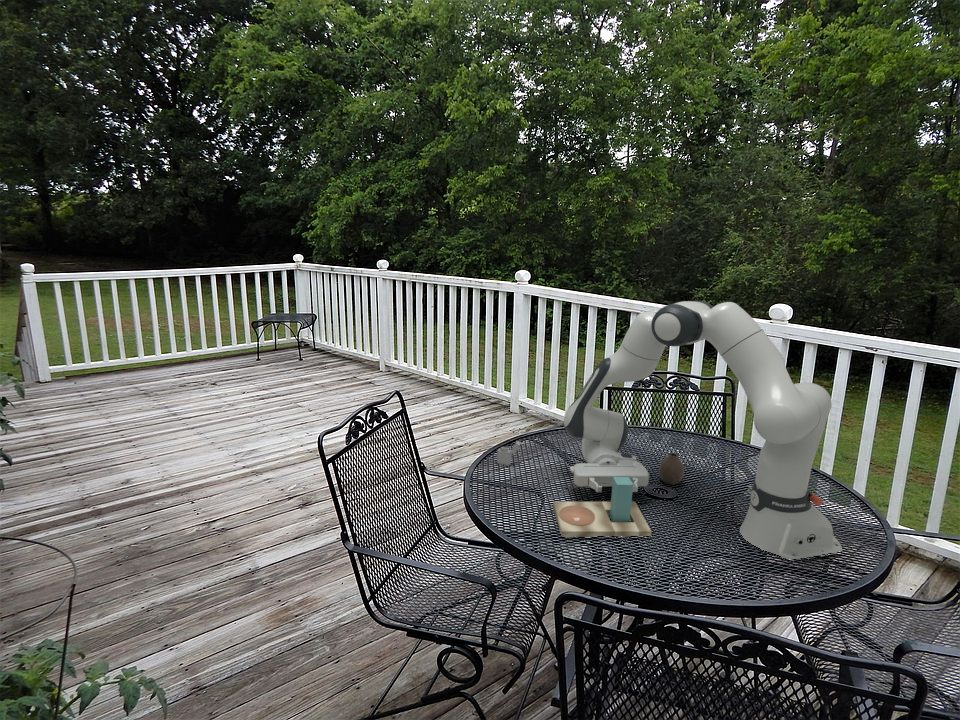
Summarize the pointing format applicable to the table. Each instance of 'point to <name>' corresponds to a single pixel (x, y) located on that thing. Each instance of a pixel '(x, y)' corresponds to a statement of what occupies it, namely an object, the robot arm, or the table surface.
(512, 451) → the lighter
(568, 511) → the tan flat disc
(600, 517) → the pocket board
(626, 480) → the peg
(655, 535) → the table surface
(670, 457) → the vase
